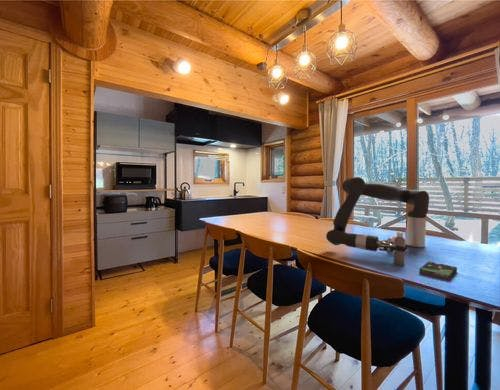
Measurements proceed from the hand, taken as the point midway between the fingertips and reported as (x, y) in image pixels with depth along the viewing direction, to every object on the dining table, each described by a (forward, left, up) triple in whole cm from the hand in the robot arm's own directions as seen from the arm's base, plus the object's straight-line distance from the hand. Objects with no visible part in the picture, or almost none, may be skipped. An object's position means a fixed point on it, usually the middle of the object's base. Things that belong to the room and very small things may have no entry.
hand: (406, 248), depth 114 cm
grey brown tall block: (-2, -2, -8) cm, 8 cm away
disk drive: (+11, +6, -9) cm, 15 cm away
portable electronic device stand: (-18, +12, -8) cm, 24 cm away
